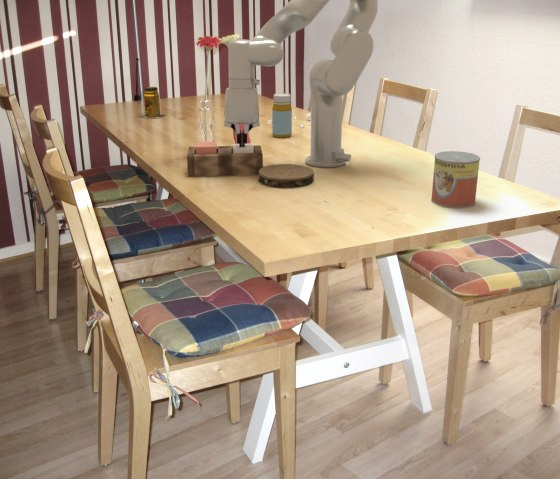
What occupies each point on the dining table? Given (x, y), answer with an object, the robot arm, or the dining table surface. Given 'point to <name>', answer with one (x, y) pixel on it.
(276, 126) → the bottle
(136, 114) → the dining table surface
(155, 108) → the condiment
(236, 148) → the white block
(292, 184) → the brown flat disc
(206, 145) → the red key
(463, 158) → the canned food
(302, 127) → the game piece set
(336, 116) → the robot arm
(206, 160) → the frame
